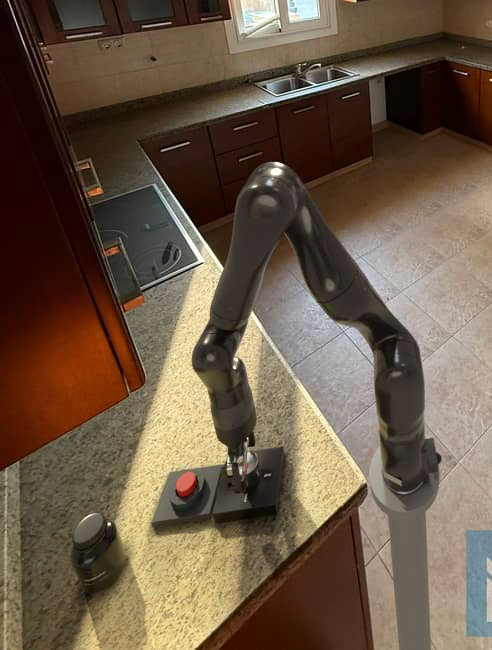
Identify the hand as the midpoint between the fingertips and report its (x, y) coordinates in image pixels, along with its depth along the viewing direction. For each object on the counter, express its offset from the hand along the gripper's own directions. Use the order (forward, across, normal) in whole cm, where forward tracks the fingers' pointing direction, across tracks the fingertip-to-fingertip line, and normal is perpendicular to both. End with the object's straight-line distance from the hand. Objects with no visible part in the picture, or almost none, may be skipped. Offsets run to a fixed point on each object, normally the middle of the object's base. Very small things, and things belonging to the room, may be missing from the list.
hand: (245, 466), depth 87 cm
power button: (+4, 0, +12) cm, 13 cm away
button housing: (+7, 0, +12) cm, 14 cm away
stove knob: (+3, 0, 0) cm, 3 cm away
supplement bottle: (+7, -10, +24) cm, 27 cm away
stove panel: (+6, 0, 0) cm, 7 cm away
